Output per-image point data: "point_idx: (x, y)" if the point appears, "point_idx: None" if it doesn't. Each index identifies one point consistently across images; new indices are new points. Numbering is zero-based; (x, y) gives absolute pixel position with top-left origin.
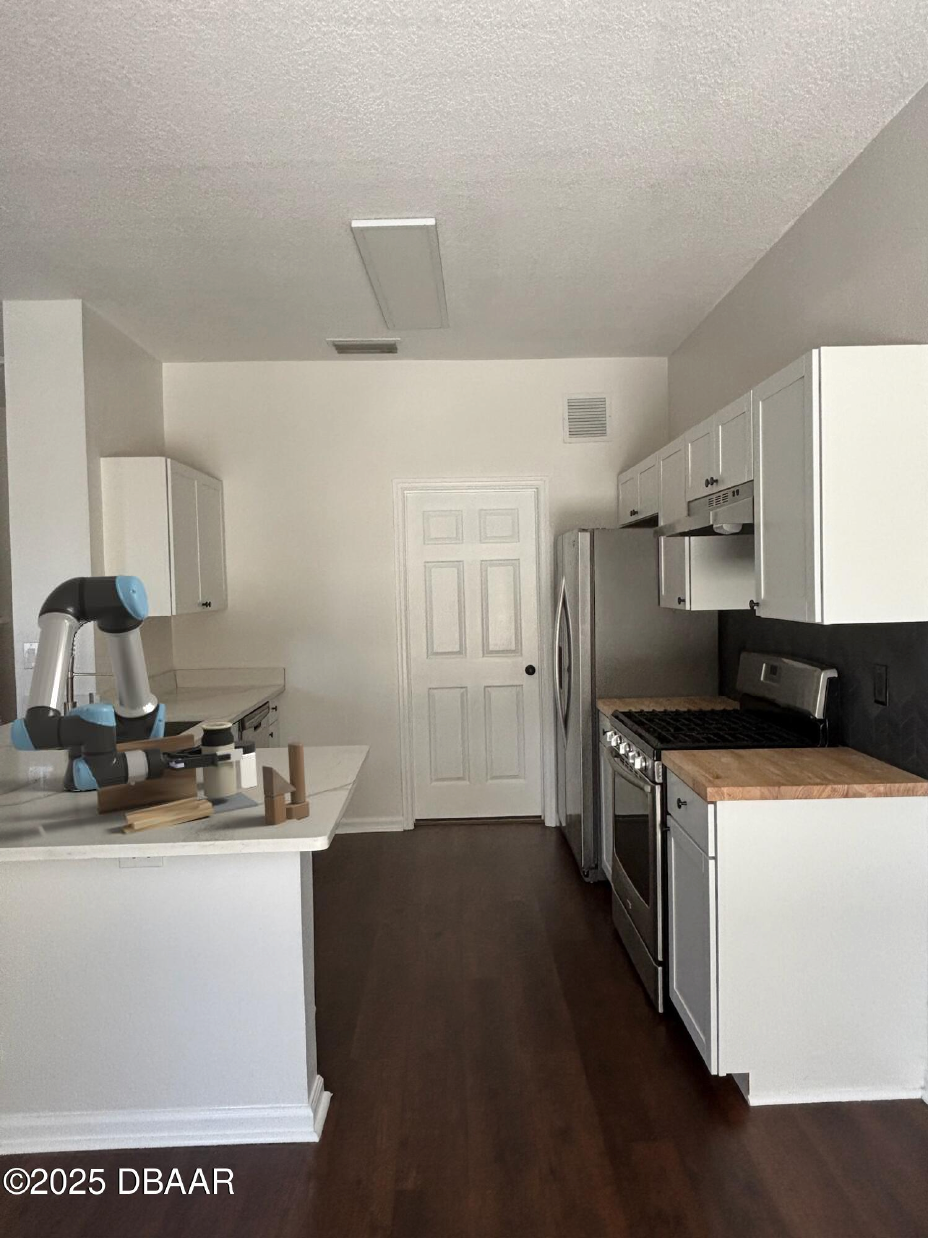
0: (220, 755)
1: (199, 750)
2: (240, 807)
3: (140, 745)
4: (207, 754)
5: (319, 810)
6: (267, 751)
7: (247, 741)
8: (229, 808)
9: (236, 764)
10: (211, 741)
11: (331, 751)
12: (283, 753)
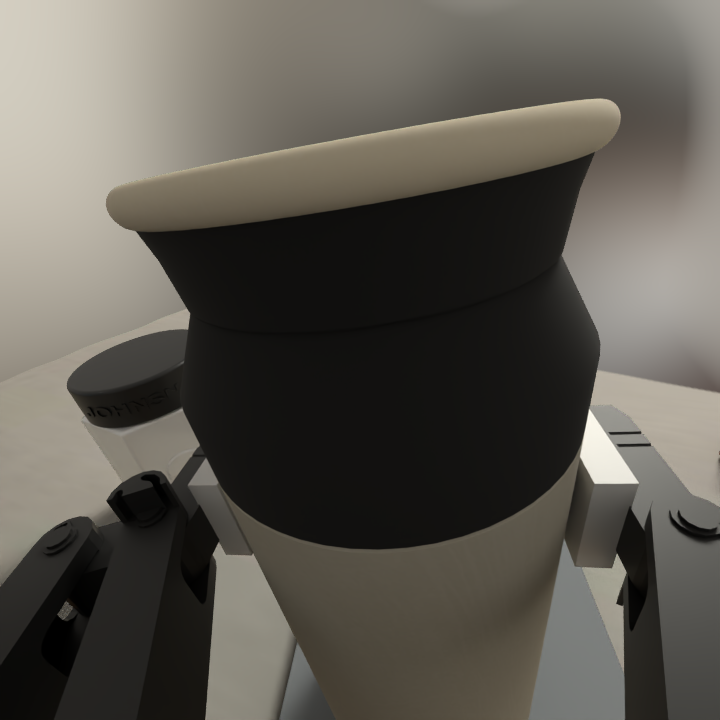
0: (668, 480)
1: (174, 583)
2: (600, 620)
3: None
4: (707, 622)
5: (674, 410)
6: (41, 373)
7: (151, 339)
8: (619, 692)
9: (195, 439)
10: (583, 391)
11: (188, 319)
12: None
